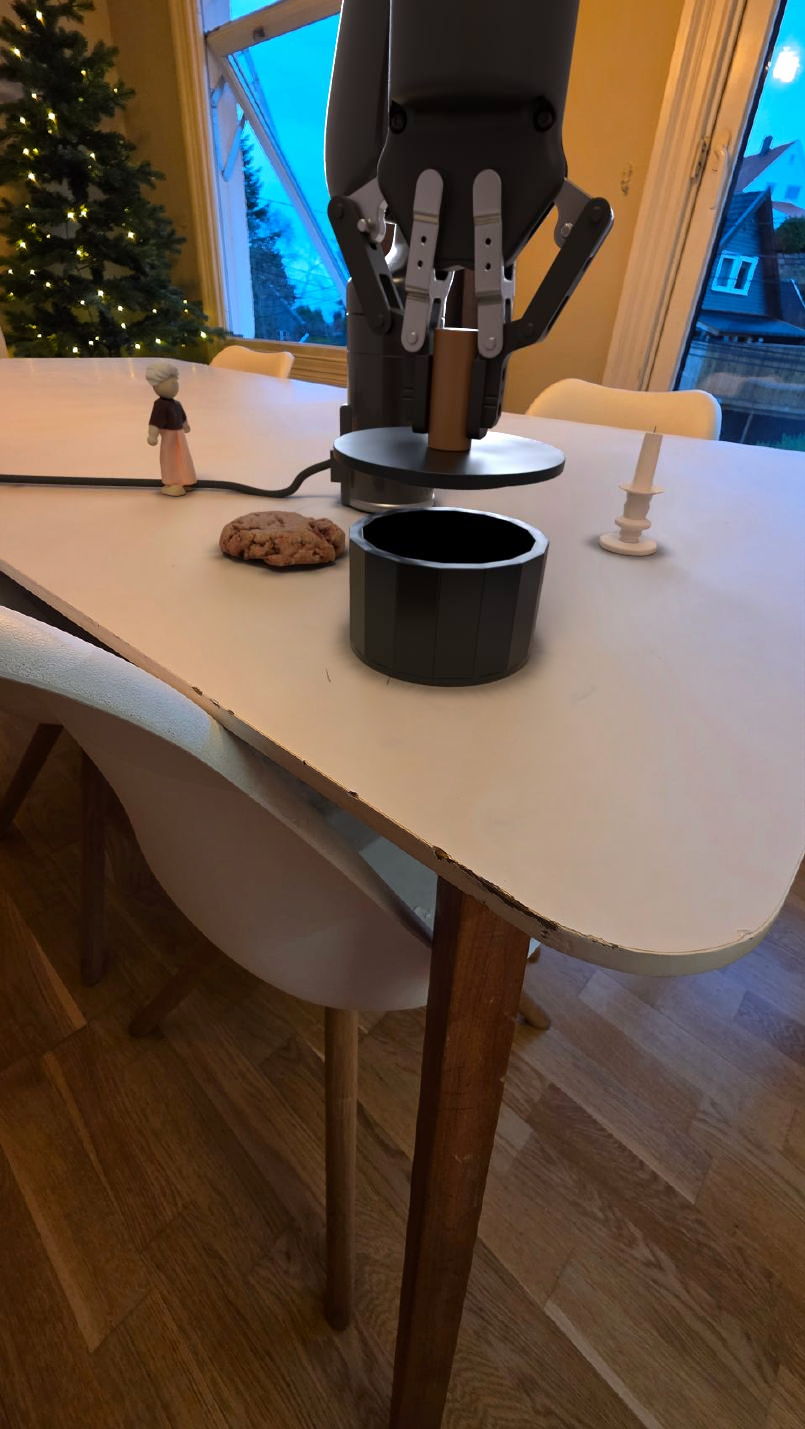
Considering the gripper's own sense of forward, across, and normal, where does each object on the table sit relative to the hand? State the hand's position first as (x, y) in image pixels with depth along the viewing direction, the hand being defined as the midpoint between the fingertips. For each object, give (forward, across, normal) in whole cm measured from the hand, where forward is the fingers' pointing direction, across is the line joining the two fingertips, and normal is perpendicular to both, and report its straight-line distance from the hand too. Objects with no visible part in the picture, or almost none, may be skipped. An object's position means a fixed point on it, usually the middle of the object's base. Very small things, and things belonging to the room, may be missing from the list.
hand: (449, 432), depth 34 cm
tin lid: (+1, 0, 0) cm, 1 cm away
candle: (+13, -11, -26) cm, 31 cm away
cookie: (+13, +17, -11) cm, 24 cm away
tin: (+12, 0, 0) cm, 12 cm away
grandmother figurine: (+13, +37, -25) cm, 46 cm away
